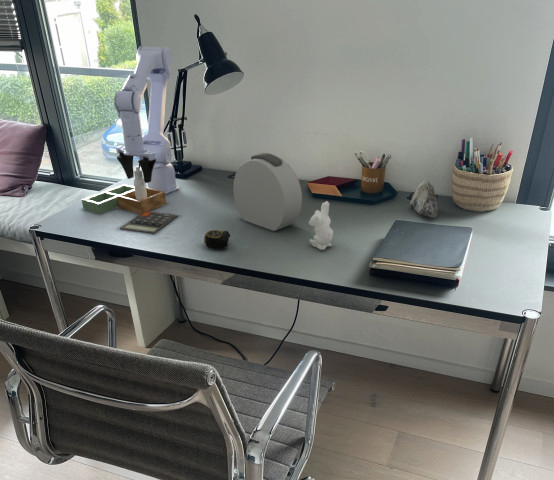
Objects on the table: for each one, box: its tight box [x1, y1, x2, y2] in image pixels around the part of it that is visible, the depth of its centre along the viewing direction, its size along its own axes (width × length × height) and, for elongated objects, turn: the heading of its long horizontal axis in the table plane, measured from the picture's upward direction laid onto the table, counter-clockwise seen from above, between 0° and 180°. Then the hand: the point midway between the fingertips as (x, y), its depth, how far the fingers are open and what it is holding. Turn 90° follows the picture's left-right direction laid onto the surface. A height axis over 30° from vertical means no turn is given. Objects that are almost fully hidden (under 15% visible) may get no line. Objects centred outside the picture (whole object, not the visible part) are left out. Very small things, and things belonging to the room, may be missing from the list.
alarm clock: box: [232, 152, 303, 232], centre depth 165 cm, size 21×8×20 cm, turn 47°
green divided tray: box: [81, 183, 135, 215], centre depth 183 cm, size 18×8×3 cm, turn 147°
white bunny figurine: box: [308, 200, 334, 251], centre depth 152 cm, size 8×7×12 cm
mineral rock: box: [409, 179, 439, 219], centre depth 173 cm, size 13×11×10 cm
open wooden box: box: [117, 186, 167, 215], centre depth 181 cm, size 11×10×4 cm
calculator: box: [119, 211, 179, 235], centre depth 171 cm, size 12×1×15 cm
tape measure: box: [203, 229, 231, 250], centre depth 155 cm, size 7×7×4 cm
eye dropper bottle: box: [133, 165, 148, 201], centre depth 178 cm, size 4×6×12 cm
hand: (139, 180), depth 177 cm, fingers open, 7 cm apart
